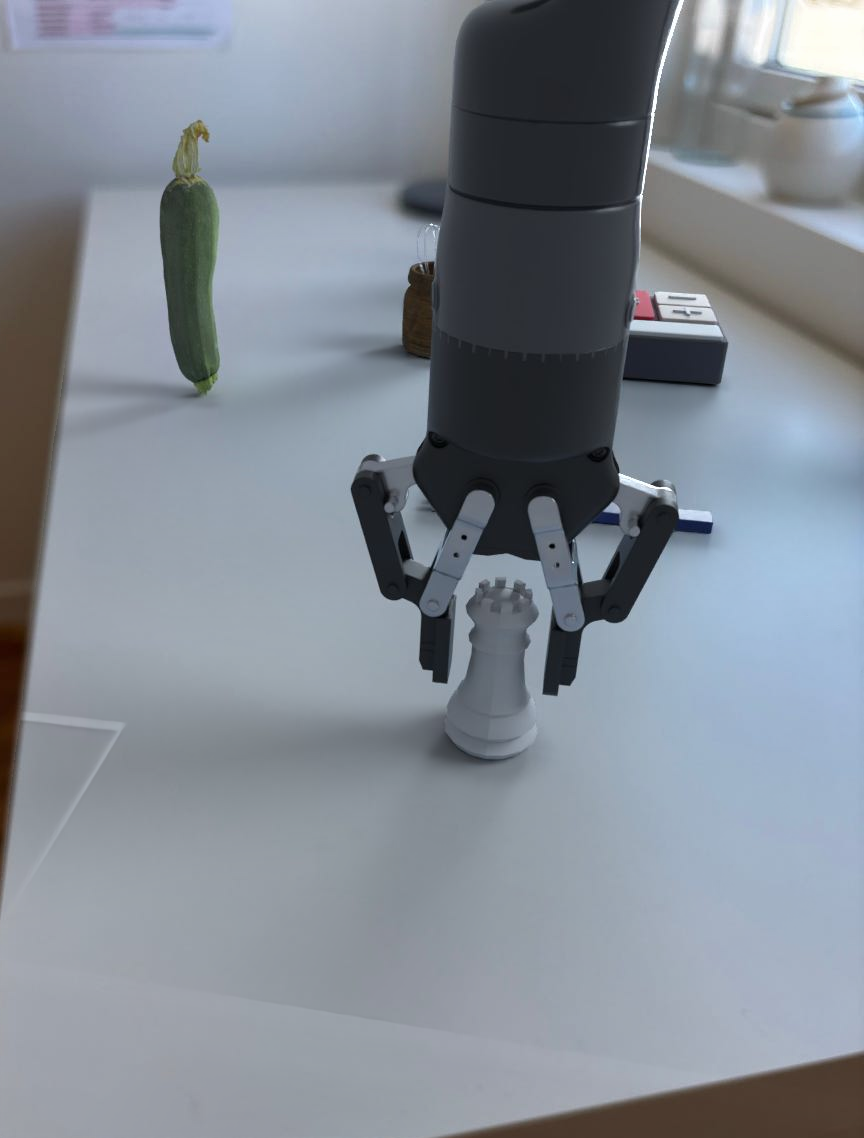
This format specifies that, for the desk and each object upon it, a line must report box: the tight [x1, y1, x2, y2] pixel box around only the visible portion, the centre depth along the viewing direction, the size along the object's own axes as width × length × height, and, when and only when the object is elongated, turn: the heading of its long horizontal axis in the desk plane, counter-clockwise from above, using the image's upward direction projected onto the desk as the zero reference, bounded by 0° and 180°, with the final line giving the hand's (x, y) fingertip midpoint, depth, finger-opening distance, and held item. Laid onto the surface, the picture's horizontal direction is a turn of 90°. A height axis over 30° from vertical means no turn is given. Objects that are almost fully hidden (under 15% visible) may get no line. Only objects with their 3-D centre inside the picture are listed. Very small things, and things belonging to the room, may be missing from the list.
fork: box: [430, 503, 714, 534], centre depth 74 cm, size 18×3×1 cm, turn 81°
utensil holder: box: [401, 223, 440, 359], centre depth 98 cm, size 6×6×12 cm
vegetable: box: [159, 119, 221, 396], centre depth 86 cm, size 4×4×20 cm
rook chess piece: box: [443, 576, 540, 760], centre depth 52 cm, size 4×4×8 cm
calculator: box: [623, 289, 729, 385], centre depth 100 cm, size 11×4×15 cm
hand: (495, 678), depth 52 cm, fingers open, 4 cm apart
